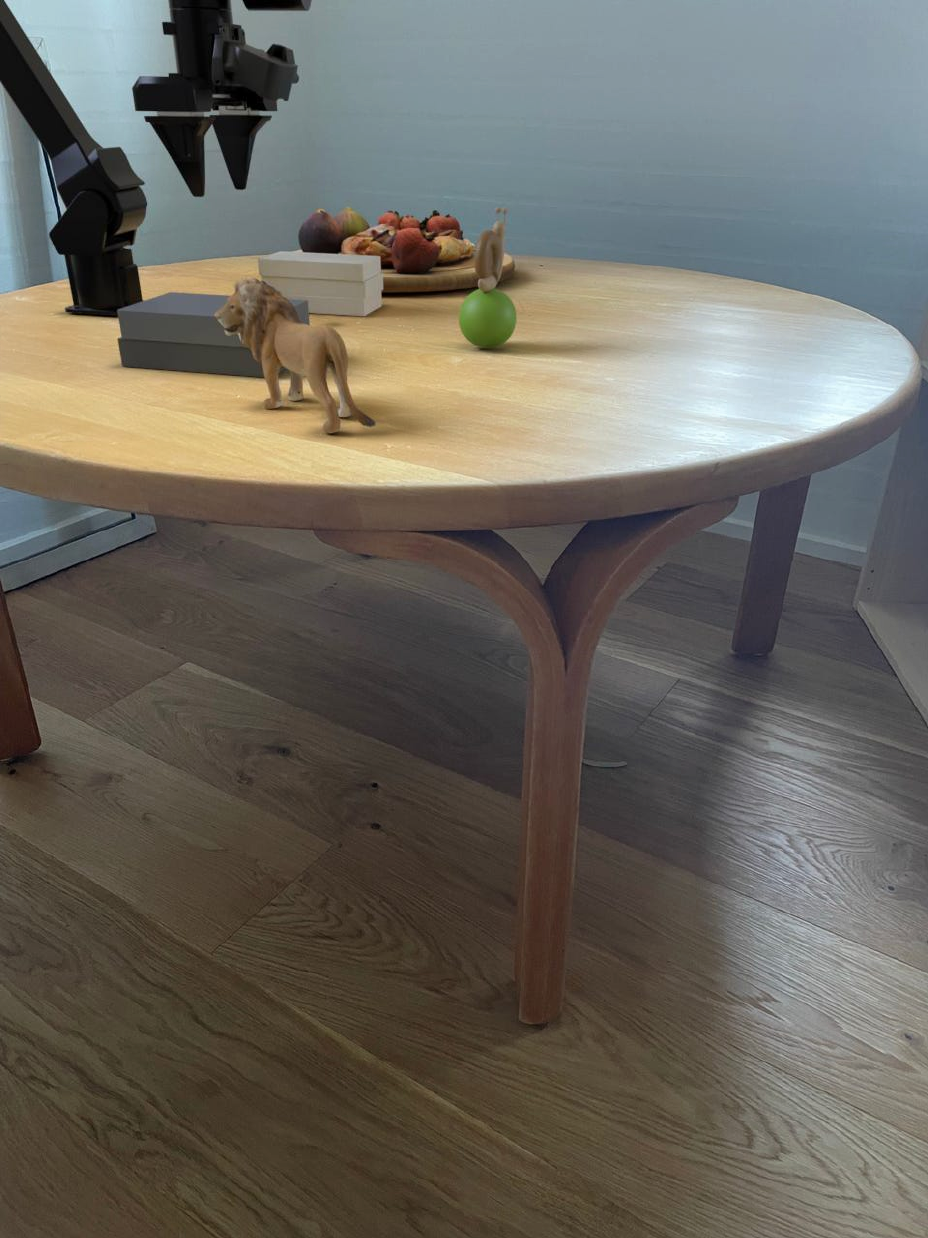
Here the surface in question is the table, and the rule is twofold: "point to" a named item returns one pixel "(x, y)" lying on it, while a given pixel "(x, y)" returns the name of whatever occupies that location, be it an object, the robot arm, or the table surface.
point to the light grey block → (332, 294)
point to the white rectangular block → (319, 266)
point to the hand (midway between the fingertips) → (220, 192)
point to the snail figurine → (488, 293)
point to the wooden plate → (401, 248)
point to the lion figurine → (290, 348)
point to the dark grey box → (187, 336)
